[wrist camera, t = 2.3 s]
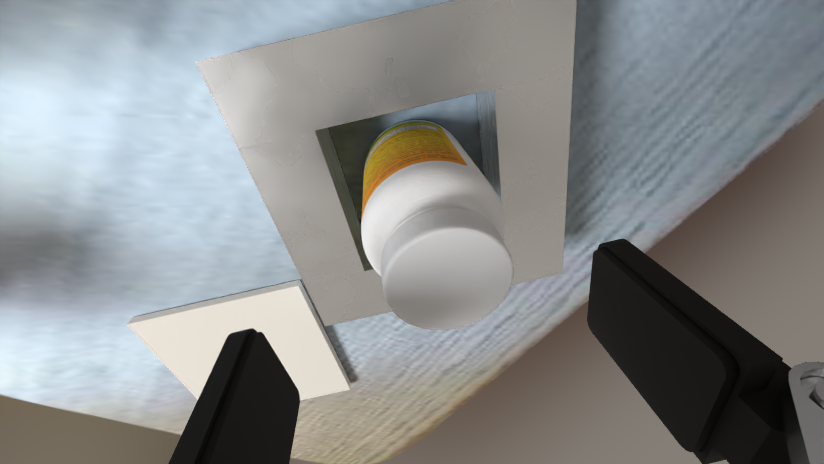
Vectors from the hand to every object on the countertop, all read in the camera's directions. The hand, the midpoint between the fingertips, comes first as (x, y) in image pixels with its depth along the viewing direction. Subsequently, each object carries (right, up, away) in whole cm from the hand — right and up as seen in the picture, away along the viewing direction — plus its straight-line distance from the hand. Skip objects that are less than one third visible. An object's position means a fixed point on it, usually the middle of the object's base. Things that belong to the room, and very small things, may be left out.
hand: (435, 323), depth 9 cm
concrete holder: (-1, +6, +9) cm, 11 cm away
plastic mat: (-12, -6, +15) cm, 20 cm away
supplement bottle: (-1, +6, +9) cm, 11 cm away
